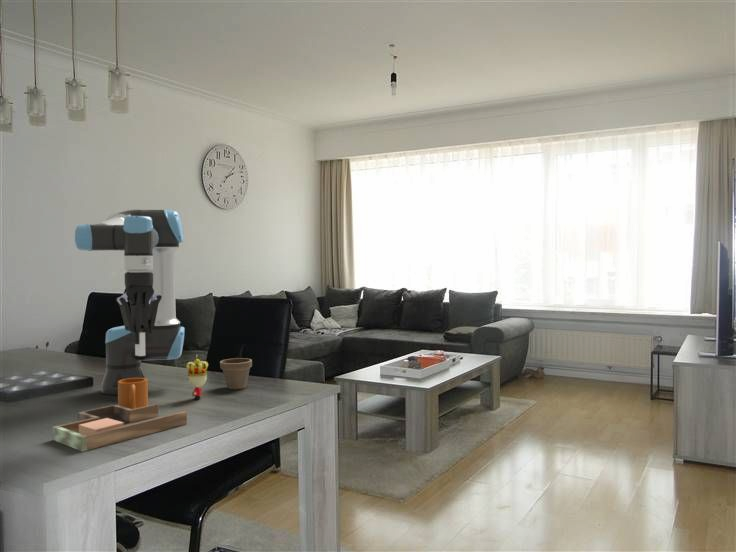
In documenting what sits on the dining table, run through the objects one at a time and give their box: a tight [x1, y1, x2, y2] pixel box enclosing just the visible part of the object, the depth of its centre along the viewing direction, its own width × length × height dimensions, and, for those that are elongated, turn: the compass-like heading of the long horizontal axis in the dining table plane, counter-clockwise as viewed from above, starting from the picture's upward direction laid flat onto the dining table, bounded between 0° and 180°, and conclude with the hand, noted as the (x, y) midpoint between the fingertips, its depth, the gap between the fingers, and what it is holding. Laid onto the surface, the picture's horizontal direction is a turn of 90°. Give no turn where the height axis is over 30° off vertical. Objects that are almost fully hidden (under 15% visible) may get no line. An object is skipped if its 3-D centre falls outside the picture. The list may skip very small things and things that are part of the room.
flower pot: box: [219, 357, 253, 390], centre depth 217 cm, size 12×11×10 cm
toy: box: [185, 355, 209, 401], centre depth 200 cm, size 7×7×15 cm
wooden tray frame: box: [52, 403, 188, 453], centre depth 166 cm, size 25×30×4 cm
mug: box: [117, 377, 149, 409], centre depth 186 cm, size 9×12×9 cm
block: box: [79, 418, 125, 436], centre depth 158 cm, size 8×8×4 cm
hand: (140, 355), depth 167 cm, fingers closed
